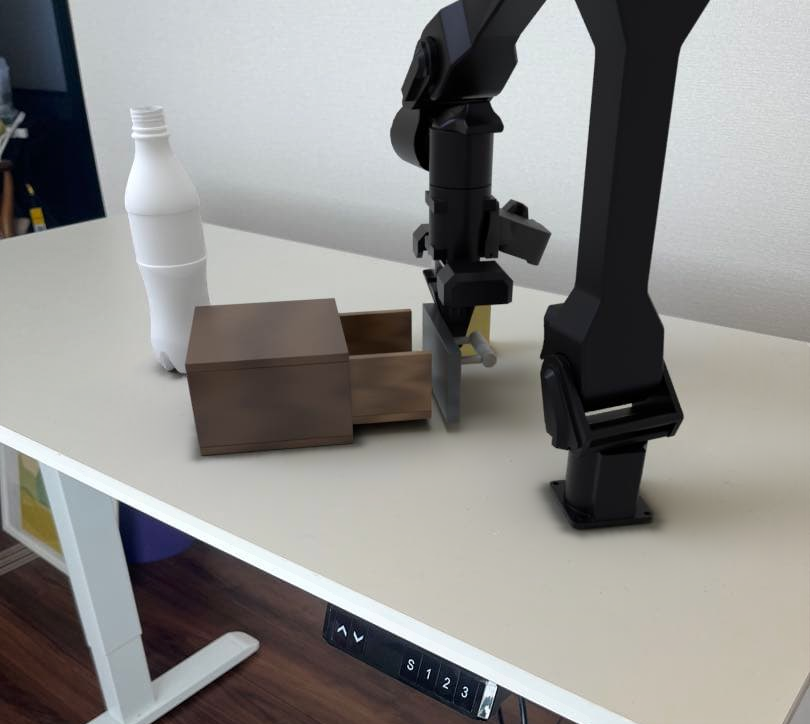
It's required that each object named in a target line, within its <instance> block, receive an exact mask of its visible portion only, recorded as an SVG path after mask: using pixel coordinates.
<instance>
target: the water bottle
mask: <svg viewBox="0 0 810 724" xmlns="http://www.w3.org/2000/svg"><path fill="white" fill-rule="evenodd" d="M129 113H130V119H131V123H132V126H131V130H132V133H131V138H132V139H134V143H135V144H134V146H135V147H134V149H135V151H134V158H133V162H132V166H131V168H130V172H129V175H128V179H127V183H126V186H125V191H124V209H125V211H126V212H127V217H128V223H129V228H130V234H131V238H132V239H131V240H132V243H133V249H134V253H135V260H136V264H137V266H138V268H139V271H140V274H141V276H142V279H143V283H144V286H145V291H146V294H147V295H146V296H147V299H148V305H149V313H150V342H151V346H152V350H153V352H154V355H155V357H156V359H157V360H158V362H159V364H160V365H161V366H162V367H163V368H164V369H165V370H167V371H172V370H173V369H176V371H177V372H179V373H180V374H183V375H186V369H185V360H186V354H187V349H188V343H189V338H190V332H191V327H192V321H193V316H194V310H195V307H196V306H211V305H212V304H211V300H210V295H209V287H208V275H207V262H208V253H207V248H206V241H205V233H204V228H203V227H204V226H203V220H202V213H201V207H200V206H201V200H200V195H199V193H198V190H197V188H196V187H195V184H194V183H193V182H192V179H191V178H190V176H189V175H188V173H187V171H186V169H184V167H183V165H182V163H180V160H179V159H178V158H177V156H176V155H175V153H174V151H173V148H172V145H171V142H170V138H169V137H171V132H170V131H169V130H168V128H169V126H168V125H167V124H166V116H165V111H164V106H161V105H144V106H134V107H130V108H129Z"/></svg>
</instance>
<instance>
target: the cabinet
mask: <svg viewBox="0 0 810 724" xmlns="http://www.w3.org/2000/svg"><path fill="white" fill-rule="evenodd" d="M339 313H340V312H339V308H338V306H337V301H336V298H335V297H328V298H311V299H310V298H309V299H296V300H295V299H294V300H277V301H263V302H262V301H261V302H246V303H245V302H244V303H231V304H230V303H229V304H214V305H213V304H211V306H196V307H195V310H194V316H193V321H192V327H191V332H190V338H189V343H188V349H187V354H186V360H185V369H186V374H185V375H186V379H187V386H188V390H189V397H190V402H191V409H192V414H193V420H194V427H195V432H196V439H197V443H198V448H199V454H200V456H211V455H223V454H225V455H226V454H236V453H247V452H259V451H261V452H262V451H272V450H284V449H285V450H286V449H296V448H297V449H298V448H308V447H309V448H310V447H322V446H334V445H344V444H345V445H346V444H353V443H354V426H353V425H354V424H353V423H352V405H351V386H350V368H349V352H348V348H347V344H346V341H345V337H344V333H343V329H342V325H341V321H340V317H339Z"/></svg>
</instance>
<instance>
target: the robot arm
mask: <svg viewBox="0 0 810 724" xmlns="http://www.w3.org/2000/svg"><path fill="white" fill-rule="evenodd" d="M546 2H547V0H456V1H454V2H451V3H450V4H447V5H446V6H444V7H442V8H440V9H439V10H438V11H437V12H436V14H434V16H433V17H432V18H431V19H430V20H429V22H427V24H426V25H425V26H424V28H423V30H422V32H421V34H420V38H419V39H418V40H417V42H416V45H415V47H414V52H413V56H412V59H411V61H410V65H409V67H408V70H407V73H406V75H405V78H404V80H403V82H402V86H401V88H400V91H401V94H402V98H401V107H400V108H399V110H398V111H397V112H396V114H395V115H394V117H393V120H392V122H391V127H390V129H389V138H390V144H391V146H392V149H393V152H394V153H395V154H396V156H397V157H399V158H400V159H401V160H402V161H404V162H406V163H407V164H410V165H412V166H415V167H417V168H419V169H421V170H424V171H426V172H428V183H429V184H428V190H424V203H425V204H426V205H427V206H428V223H421V224H420V225H419V226H418V227H417V228H416V229H415V230H414V231H413V232H412V253H413V255H414V256H415V258H416V259H423V256H424V252H426V251H427V255H428V257H429V259H430V268H426V269H423V270H421V271H422V275H423V278H424V280H425V282H426V285H427V288H428V290H429V293H430V295H431V298H432V302H433V303H434V304H435V306H436V307H437V309H438V311H439V313H440V315H441V316H442V318H443V320H444V322H445V324H446V325H447V327H448V329H449V331H450V333H451V334H452V336H453V337H466V334H467V331H468V327H469V324H470V321H471V318H472V315H473V312H474V309H475V306H485V305H491V306H499V305H500V306H501V305H509V304H510V303H512V302H513V293H514V280H513V278H511V277H510V275H509V274H508V272H507V271H506V270H505V269H504V268H503V267H502V266H501V265H500V264H499V263H498V262H497V261H496V260H494V259H499V252H501V253H503V254H506V255H508V256H511V257H515V258H517V259H521V260H524V261H526V263H527V264H529V265H531V266H535V267H536V266H537V267H538V266H539V265H540V263H541V260H542V258H543V255H544V253H545V250H546V248H547V246H548V244H549V241H550V239H551V236H552V232H551V231H550V230H549V229H548V228H546V227H545V226H544V225H543V224H541V223H540V222H538V221H536V220H535V219H533V218H529V207H528V206H527V205H526V204H525V203H523V202H521V201H518V200H515V199H512V198H510V199H509V200H508V201H507V202H506V203H505V204H504V205H503V206H502V207H500V201H498V199H497V198H496V197H495V195H493V194H492V189H493V188H492V187H493V163H494V162H493V161H494V141H495V137H494V136H495V134H500V133H503V132H504V130H505V125H504V122H503V120H502V118H501V116H499V115H498V113H496V111H495V110H494V108H493V106H492V103H491V101H492V100H493V99H494V97H498V96H499V95H500V94H501V93H502V91H503V90H504V89H505V87H506V85H507V83H508V81H509V79H510V77H511V76H512V74H513V72H514V70H515V69H516V67H517V65H518V63H519V59H518V51H517V42H518V41H519V39H520V37H521V35H522V33H524V31H525V29H527V27H528V26H529V25H530V23H531V22H532V21H533V19H534V18H535V17H536V15H537V14H538V13H539V11H540V10H541V9H542V7H543V6H544V4H545V3H546ZM574 2H575V4H576V7H577V10H578V12H579V14H580V17H581V19H582V21H583V23H584V25H585V28H586V30H587V33H588V35H589V37H590V39H591V42H592V45H593V47H594V63H593V75H592V85H591V96H590V97H591V98H590V108H589V119H588V131H587V144H586V154H585V166H584V176H583V177H584V178H583V189H582V190H583V191H582V200H581V213H580V222H579V223H580V224H579V235H578V246H577V257H576V258H577V259H576V269H575V279H574V280H575V281H574V285H573V288H572V289H571V291H570V293H569V294H568V296H567V297H566V299H565V300H564V302H560V303H554V304H549V305H548V306H547V308H546V311H545V312H544V315H543V341H542V348H541V351H540V354H539V359H540V360H541V361H542V363H541V366H540V370H539V377H540V387H541V398H542V410H543V419H544V421H543V422H544V426H545V431H546V433H547V434H548V435H549V436H551V442H550V443H551V446H552V447H553V448H554V449H557V450H562V451H568V453H567V463H566V471H565V477H564V478H565V479H558V480H551V481H549V490H550V492H551V493H552V495H553V497H554V499H555V501H556V502H557V504H558V506H559V508H560V509H561V511H562V512H563V515H564V516H565V517H566V519H567V521H568V523H569V524H570V526H571V527H572V528H575V529H585V528H586V529H587V528H596V527H606V526H607V527H609V526H615V525H616V526H617V525H627V524H637V523H647V522H652V521H653V520H654V516H655V515H654V512H653V510H652V509H651V508H650V506H649V505H648V503H647V502H646V501H645V500H644V498H642V495H640V491H641V490H640V489H641V485H642V479H643V472H644V468H645V462H646V461H645V460H646V455H647V451H648V445H649V441H652V440H657V439H658V440H659V439H662V438H671V437H675V436H676V434H677V432H678V430H679V429H680V427H681V425H682V423H683V421H684V419H685V414H684V412H683V409H682V406H681V403H680V400H679V397H678V394H677V392H676V389H675V386H674V383H673V380H672V378H671V375H670V372H669V370H668V366H667V364H666V360H665V359H664V357H665V325H664V324H663V321H662V319H661V316H660V315H659V312H658V309H657V308H656V307H655V304H654V302H653V300H652V298H651V294H650V293H649V281H650V274H651V267H652V259H653V250H654V243H655V238H656V229H657V223H658V215H659V207H660V200H661V193H662V187H663V178H664V170H665V163H666V155H667V149H668V148H667V147H668V142H669V141H668V140H669V132H670V128H671V127H670V126H671V119H672V111H673V105H674V104H673V103H674V98H675V97H674V96H675V89H676V88H675V87H676V81H677V76H678V75H677V74H678V69H679V61H680V54H681V50H682V47H683V45H684V43H685V41H686V40H687V38H688V37H689V35H690V34H691V32H692V31H693V29H694V27H695V26H696V24H697V23H698V21H699V20H700V17H702V15H703V13H704V11H705V10H706V8H707V6H708V5H709V3H710V2H711V0H574ZM483 258H485V260H481V259H483ZM462 346H463V344H460V345H458V347H459V348H461V347H462ZM626 405H631V406H628V407H627V406H626ZM621 406H626V407H623V408H622V407H621ZM616 407H621V408H617V409H613V410H609V411H604V412H599V413H593V412H598V411H602V410H607V409H610V408H616ZM587 413H593V414H589V415H586V414H587Z"/></svg>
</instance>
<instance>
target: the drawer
mask: <svg viewBox="0 0 810 724" xmlns="http://www.w3.org/2000/svg"><path fill="white" fill-rule="evenodd" d="M421 306H422V308H421V309H422V313H421V315H422V319H421V320H422V321H421V322H422V325H421V327H422V328H421V330H422V332H421V333H422V336H421V337H422V339H421V340H422V346H421V349H422V350H413V312H412V308H399V309H398V308H397V309H396V308H395V309H383V310H367V311H350V312H338V313H339V317H340V321H341V325H342V329H343V333H344V337H345V341H346V344H347V348H348V352H349V368H350V386H351V405H352V423H353V425H363V424H377V423H386V422H387V423H389V422H401V421H403V422H404V421H415V420H427V419H432V408H433V407H432V403H433V402H432V401H433V400H432V399H433V398H432V397H433V394H434V397H435V399H436V401H437V404H438V407H439V408H440V410H441V413H442V415H443V417H444V420H445V423H446V424H459V423H460V421H461V392H462V391H461V390H462V389H461V387H462V366H464V365H476V364H477V365H478V364H482V366H483V367H484V368H489V369H490V368H493V367H495V365H496V364H497V361H498V358H497V356H496V354H495V352H494V351H493V350H492V348H491V346H490V344H489V345H488V343H487V342H486V340H485V339H484V337H483V335H482V334H481V333H480V332H479V331H474V332H472V333H471V334H470V335H469V336H466V337H453V336H452V334H451V333H450V331H449V329H448V327H447V325H446V324H445V322H444V320H443V318H442V316H441V315H440V313H439V311H438V309H437V307H436V306H435V304H434V302H427V303H426V302H423V303H422V304H421ZM460 344H471V345H472V347H473V349H474V350H475V352H476V354H477V355H474V356H462V352H461V350H460V349H459V347H458V345H460Z"/></svg>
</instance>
